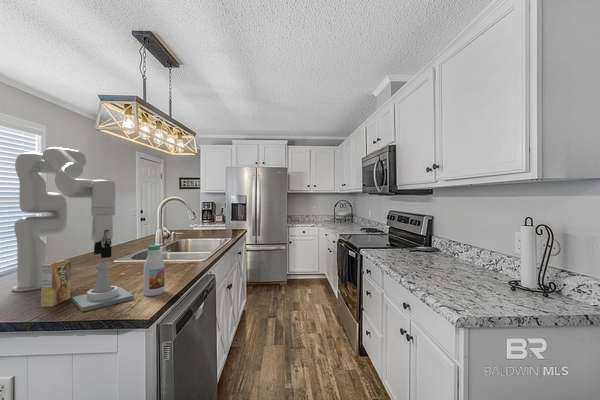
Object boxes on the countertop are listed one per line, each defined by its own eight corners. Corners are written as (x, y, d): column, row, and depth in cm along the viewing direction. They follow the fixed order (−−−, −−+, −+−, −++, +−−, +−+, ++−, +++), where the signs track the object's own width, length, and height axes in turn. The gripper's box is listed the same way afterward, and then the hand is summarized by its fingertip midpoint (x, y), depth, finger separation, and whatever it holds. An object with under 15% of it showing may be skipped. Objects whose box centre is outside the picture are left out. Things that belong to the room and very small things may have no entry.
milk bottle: (140, 297, 107) (141, 247, 108) (146, 291, 115) (146, 244, 115) (162, 295, 109) (162, 246, 110) (166, 289, 117) (166, 243, 117)
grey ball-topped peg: (89, 298, 102) (89, 264, 102) (103, 293, 108) (103, 260, 108) (101, 299, 101) (102, 264, 101) (115, 294, 107) (115, 261, 107)
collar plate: (72, 300, 104) (72, 290, 104) (120, 290, 116) (120, 281, 116) (81, 311, 93) (81, 300, 93) (133, 299, 105) (133, 289, 105)
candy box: (59, 298, 106) (59, 259, 106) (71, 298, 107) (71, 259, 107) (40, 307, 97) (40, 264, 98) (53, 306, 98) (53, 264, 98)
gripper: (85, 211, 108) (85, 253, 108) (97, 213, 96) (96, 260, 96) (108, 210, 113) (107, 251, 113) (121, 212, 102) (120, 257, 102)
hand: (102, 255), depth 105 cm, fingers open, 9 cm apart
